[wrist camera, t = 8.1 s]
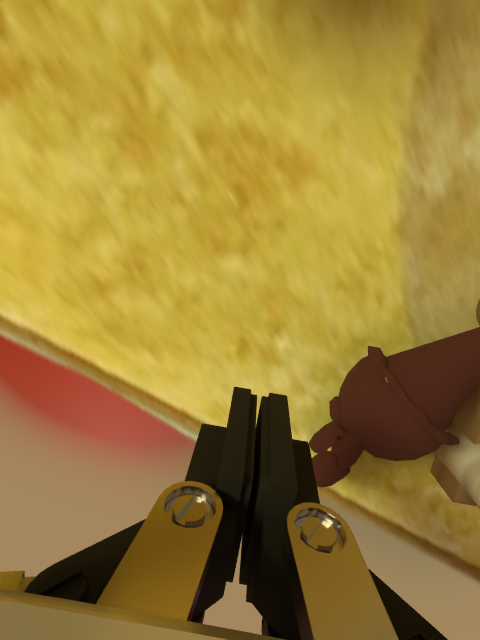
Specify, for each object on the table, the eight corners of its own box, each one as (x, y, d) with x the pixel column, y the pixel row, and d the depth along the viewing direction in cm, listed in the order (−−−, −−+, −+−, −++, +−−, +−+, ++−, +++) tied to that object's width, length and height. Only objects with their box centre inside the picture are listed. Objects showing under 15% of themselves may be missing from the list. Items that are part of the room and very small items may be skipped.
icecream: (500, 269, 17) (262, 443, 21) (613, 392, 16) (347, 544, 20) (452, 268, 23) (279, 400, 28) (531, 356, 23) (343, 476, 27)
